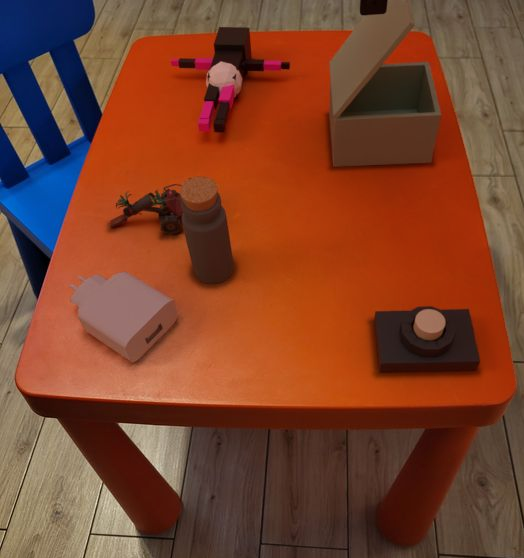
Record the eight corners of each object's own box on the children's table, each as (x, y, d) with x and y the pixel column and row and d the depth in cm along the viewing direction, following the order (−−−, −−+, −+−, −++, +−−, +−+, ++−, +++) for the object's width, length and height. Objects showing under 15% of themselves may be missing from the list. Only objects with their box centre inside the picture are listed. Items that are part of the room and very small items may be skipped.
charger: (102, 271, 89) (179, 318, 83) (56, 313, 85) (133, 365, 79) (93, 249, 85) (173, 297, 79) (43, 292, 81) (124, 345, 76)
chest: (420, 109, 104) (428, 61, 97) (431, 162, 97) (441, 115, 90) (329, 113, 105) (330, 66, 98) (333, 166, 98) (335, 119, 91)
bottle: (232, 283, 86) (220, 205, 73) (191, 284, 86) (172, 206, 74) (234, 252, 89) (223, 172, 77) (195, 253, 90) (177, 173, 77)
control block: (465, 318, 80) (472, 300, 77) (476, 370, 76) (483, 353, 73) (373, 321, 81) (376, 302, 78) (379, 372, 77) (382, 355, 73)
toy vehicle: (209, 218, 90) (179, 185, 84) (128, 257, 95) (95, 227, 89) (208, 187, 93) (179, 153, 88) (130, 226, 99) (98, 196, 93)
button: (440, 316, 76) (443, 308, 75) (444, 340, 74) (447, 332, 73) (411, 317, 77) (413, 309, 75) (415, 341, 75) (417, 333, 73)
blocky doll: (294, 59, 115) (293, 25, 109) (277, 146, 102) (275, 113, 96) (181, 56, 118) (175, 23, 112) (151, 141, 104) (142, 108, 99)
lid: (403, -28, 86) (398, -31, 86) (415, 25, 79) (410, 22, 78) (332, 65, 98) (328, 62, 97) (337, 118, 90) (333, 115, 90)
